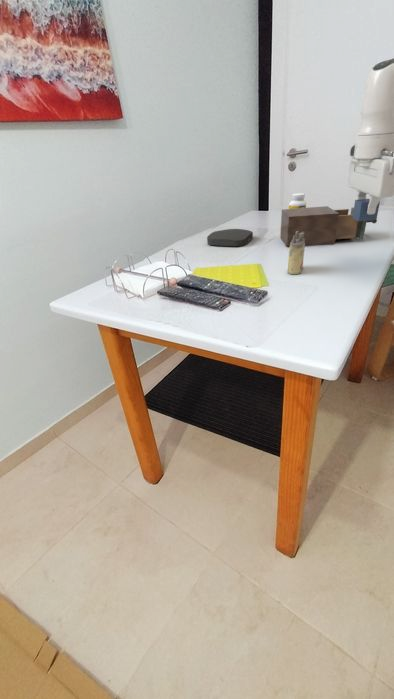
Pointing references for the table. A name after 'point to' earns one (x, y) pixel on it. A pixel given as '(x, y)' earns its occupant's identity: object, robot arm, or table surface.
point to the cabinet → (310, 225)
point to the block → (363, 210)
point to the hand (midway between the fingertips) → (365, 211)
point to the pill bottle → (297, 201)
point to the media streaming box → (230, 237)
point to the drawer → (350, 225)
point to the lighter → (296, 253)
